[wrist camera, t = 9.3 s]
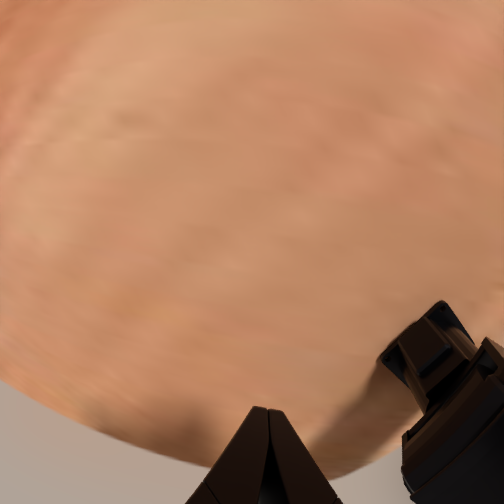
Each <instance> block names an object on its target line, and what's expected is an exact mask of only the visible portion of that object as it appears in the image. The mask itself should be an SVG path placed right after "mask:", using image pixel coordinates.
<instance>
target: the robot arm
mask: <svg viewBox="0 0 504 504" xmlns="http://www.w3.org/2000/svg"><path fill="white" fill-rule="evenodd" d="M442 306H443V308H442V309H441V310H440V308H441V307H442ZM481 344H482V345H481V346H480V348H479V349H478V348H477V347H476V346H475V344H474V342H473V340H472V339H471V337H470V336H469V334H468V333H467V331H466V330H465V328H464V327H463V325H462V324H461V322H460V321H459V319H458V318H457V317H456V315H455V314H454V312H453V311H452V309H451V308H450V307H449V305H448V304H447V303H446V302H445V301H443V300H441V301H439V302H438V303H437V304H436V305H435V306H434V307H433V308H432V309H431V310H429V311H428V312H427V313H426V314H425V315H424V316H423V317H422V318H421V319H420V320H419V321H418V322H417V323H416V324H415V325H414V326H413V327H412V328H410V329H409V330H408V331H407V332H406V333H405V334H404V335H403V336H402V337H401V338H399V339H398V340H397V341H396V342H395V343H394V344H393V345H391V346H390V347H389V348H388V349H387V350H386V351H384V352H383V353H382V354H381V361H382V363H383V364H384V365H385V366H386V367H387V368H388V369H389V370H391V371H392V372H393V373H394V374H395V375H396V376H397V377H398V378H399V379H400V380H401V381H402V382H403V383H404V384H405V385H406V386H407V387H408V388H409V389H410V390H411V391H412V393H413V395H414V397H415V399H416V401H417V403H418V405H419V407H420V409H421V411H422V413H423V415H424V416H423V417H422V418H421V419H420V420H419V421H418V422H417V423H416V424H415V425H414V426H413V427H412V428H411V429H410V430H407V431H406V432H405V433H404V434H403V435H402V466H401V473H402V475H403V481H404V485H405V486H406V488H407V490H408V491H409V492H410V494H411V495H410V499H411V500H412V501H413V502H415V503H416V504H504V348H503V347H502V346H500V345H499V344H497V343H495V342H494V341H492V340H491V339H489V338H488V337H485V338H484V340H483V341H482V343H481ZM388 356H389V358H387V359H385V358H386V357H388ZM185 504H343V503H342V502H341V500H340V498H337V494H336V493H335V491H334V490H333V489H332V487H331V485H330V484H329V482H328V481H327V479H326V478H325V476H324V475H323V473H322V472H321V470H320V469H319V467H318V466H317V464H316V463H315V461H314V460H313V458H312V457H311V455H310V454H309V452H308V450H307V449H306V447H305V446H304V444H303V443H302V441H301V439H300V438H299V436H298V435H297V433H296V432H295V430H294V428H293V427H292V425H291V424H290V422H289V420H288V419H287V417H286V416H285V414H284V412H283V411H281V410H275V409H268V410H267V408H264V407H258V406H253V407H252V409H251V410H250V412H249V413H248V415H247V416H246V418H245V419H244V421H243V423H242V424H241V426H240V427H239V429H238V430H237V432H236V433H235V435H234V436H233V438H232V439H231V441H230V442H229V444H228V445H227V447H226V448H225V450H224V451H223V453H222V454H221V455H220V457H219V458H218V460H217V461H216V463H215V464H214V466H213V467H212V468H211V470H210V471H209V473H208V474H207V476H206V477H205V478H204V480H203V482H201V484H200V485H199V486H198V488H197V489H196V490H195V492H194V493H193V494H192V495H191V497H190V498H189V499H188V500H187V502H186V503H185Z"/></svg>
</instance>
